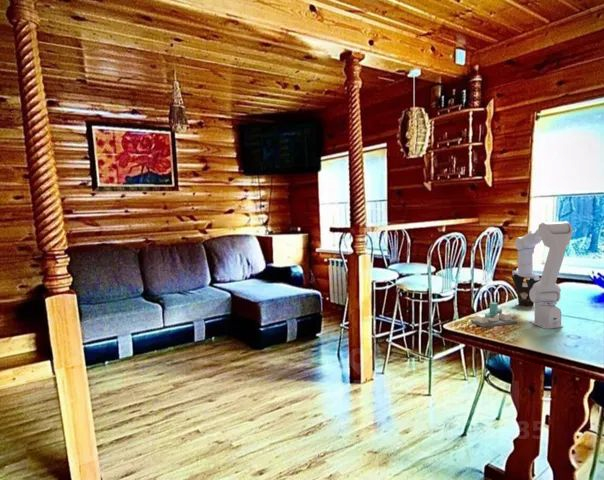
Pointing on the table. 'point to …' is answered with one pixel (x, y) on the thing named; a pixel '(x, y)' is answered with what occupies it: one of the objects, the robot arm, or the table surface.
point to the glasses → (493, 310)
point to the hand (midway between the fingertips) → (525, 293)
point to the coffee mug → (524, 297)
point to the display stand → (493, 320)
